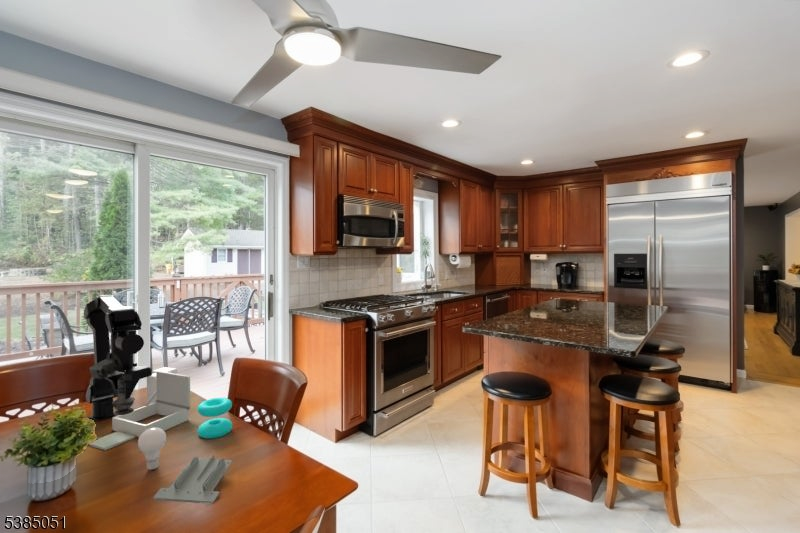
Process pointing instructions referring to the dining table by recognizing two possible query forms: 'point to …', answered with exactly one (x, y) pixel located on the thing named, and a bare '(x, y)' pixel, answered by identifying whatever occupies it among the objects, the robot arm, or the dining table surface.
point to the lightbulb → (152, 445)
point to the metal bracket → (196, 481)
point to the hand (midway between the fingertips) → (123, 397)
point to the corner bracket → (153, 382)
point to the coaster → (111, 440)
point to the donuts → (216, 425)
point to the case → (159, 406)
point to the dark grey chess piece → (122, 401)
